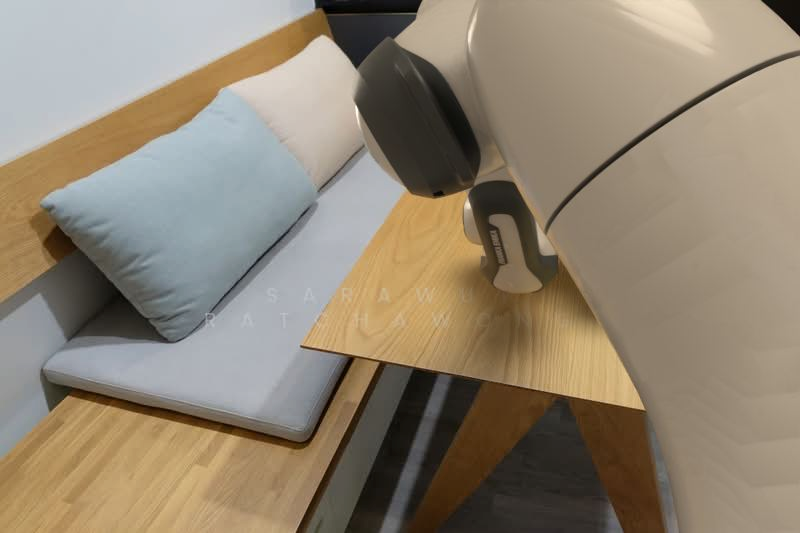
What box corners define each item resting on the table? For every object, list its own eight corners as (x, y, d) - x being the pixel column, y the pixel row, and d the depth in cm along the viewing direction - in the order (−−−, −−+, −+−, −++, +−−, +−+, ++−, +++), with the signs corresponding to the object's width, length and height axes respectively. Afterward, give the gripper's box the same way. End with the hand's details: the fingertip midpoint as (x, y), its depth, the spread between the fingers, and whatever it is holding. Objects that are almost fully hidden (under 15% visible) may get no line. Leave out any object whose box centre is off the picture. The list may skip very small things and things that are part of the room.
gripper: (583, 242, 67) (701, 245, 64) (571, 170, 83) (665, 170, 80) (578, 281, 71) (689, 285, 68) (567, 205, 87) (656, 205, 84)
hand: (675, 222), depth 74 cm, fingers closed on doll, 5 cm apart
